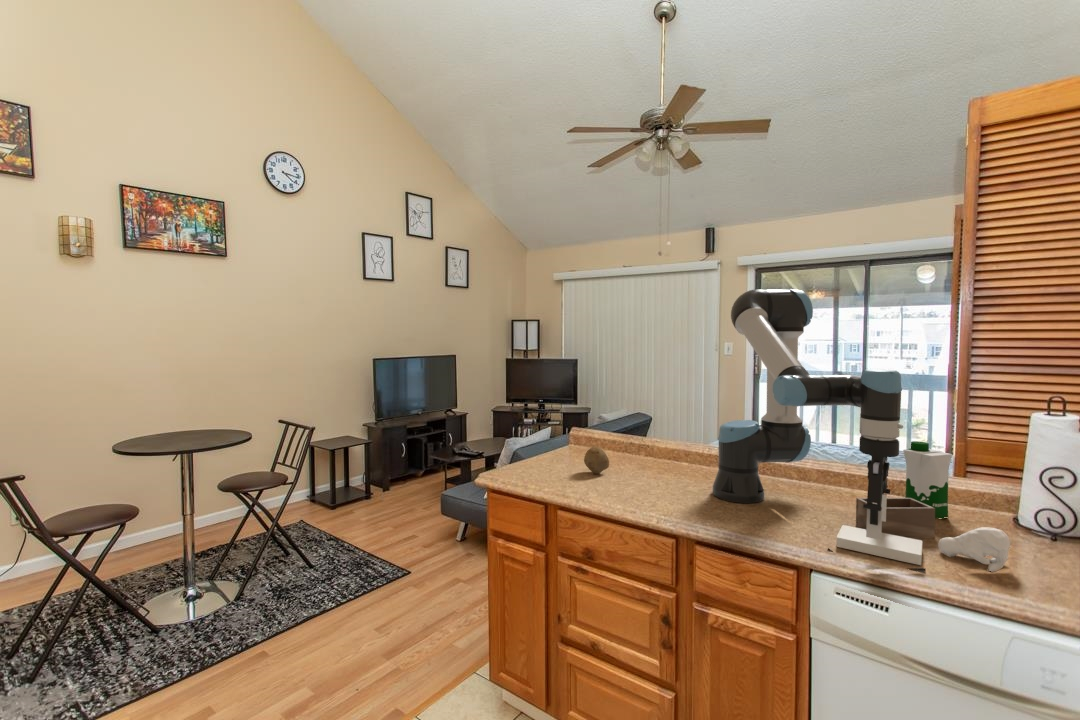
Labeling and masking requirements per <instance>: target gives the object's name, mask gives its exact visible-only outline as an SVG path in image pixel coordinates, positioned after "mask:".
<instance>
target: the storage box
mask: <svg viewBox="0 0 1080 720" xmlns="http://www.w3.org/2000/svg"><path fill="white" fill-rule="evenodd" d="M855 500H856V501H855V503H856V505H855V508H856V509H855V510H856V511H855V526H856V528H861V529H866V527H867V509H866V508H863V504H865V505H866V504H867V497H856V499H855ZM871 503H872V502H871ZM872 504H873V503H872ZM935 524H936V518H935V508H933V507H931V506H929V505H926V504H924V503H922V502H919V501H917V500H915V499H912V498H905V497H887V503H886V522H884V521H882V530H881V533H886V534H891V535H896V536H901V537H906V538H911V539H919V538H920V539H923V538H924V539H925V538H926V539H927V538H928V539H932V538H934V539H935V536H936V535H935V529H936V528H935V527H936V525H935Z"/></svg>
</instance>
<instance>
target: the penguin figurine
mask: <svg viewBox="0 0 1080 720" xmlns="http://www.w3.org/2000/svg"><path fill="white" fill-rule="evenodd" d="M937 545H938V549H939V550H940V552H941V553H942V554H943V555H945V556H946V557H949V558H952V557H956V555H960V556H961V555H962V556H965V557H967V558H970V559H973V560H975V561H977V562H979V563H981V564H983V565H988V567H987V572H989V571H991V572H990V573H995V572H997V571H999V570H1001V569H1002V568H1003V567H1004V566H1005V564H1006V562H1007V561H1008V557H1009V552H1010V551H1009V550H1010V548H1011V542H1010V537H1009V536H1008V535H1007V533H1005V532H1004V530H1002V529H998V528H996V527H988V526H981V527H977V528H975V529H970V530H968V531H967V532H964V533H962V534H960V535H958V536H955V537H949V536H948V537H942V538H940V539H939V541H938V544H937ZM989 556H991V557H992V558H990V559H988V558H986V557H989Z"/></svg>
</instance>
